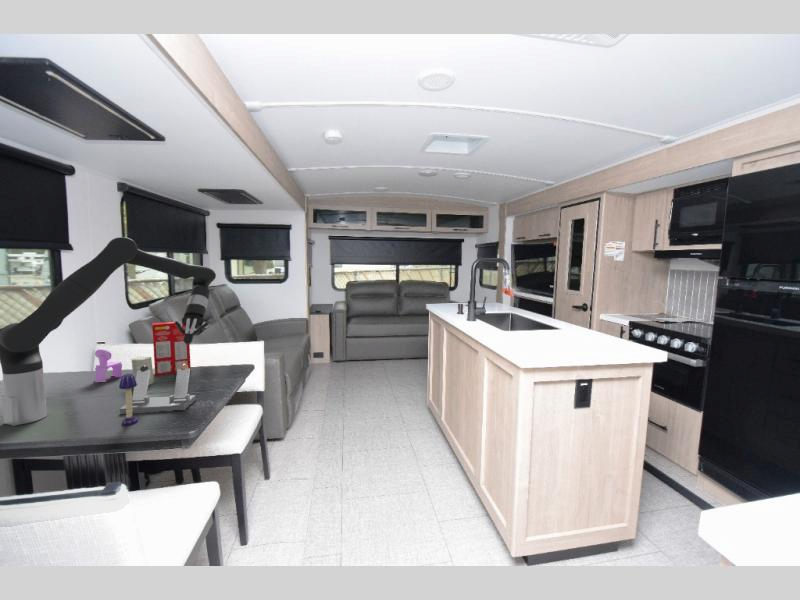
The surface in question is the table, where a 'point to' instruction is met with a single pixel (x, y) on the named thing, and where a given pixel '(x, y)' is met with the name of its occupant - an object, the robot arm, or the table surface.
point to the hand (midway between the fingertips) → (187, 343)
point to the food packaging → (169, 348)
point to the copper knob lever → (182, 382)
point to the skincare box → (140, 362)
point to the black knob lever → (141, 384)
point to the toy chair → (106, 366)
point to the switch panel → (160, 404)
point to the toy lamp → (128, 397)
